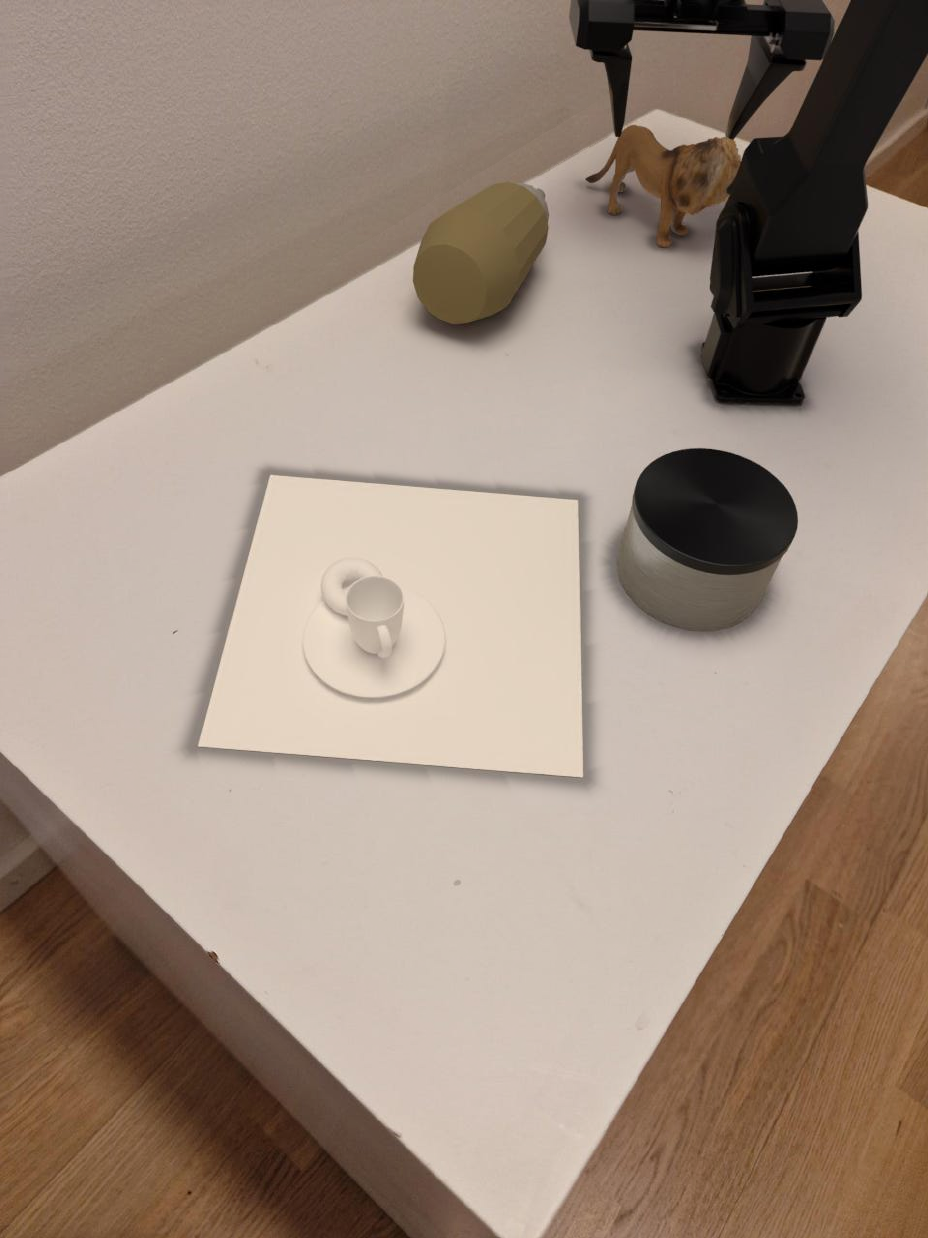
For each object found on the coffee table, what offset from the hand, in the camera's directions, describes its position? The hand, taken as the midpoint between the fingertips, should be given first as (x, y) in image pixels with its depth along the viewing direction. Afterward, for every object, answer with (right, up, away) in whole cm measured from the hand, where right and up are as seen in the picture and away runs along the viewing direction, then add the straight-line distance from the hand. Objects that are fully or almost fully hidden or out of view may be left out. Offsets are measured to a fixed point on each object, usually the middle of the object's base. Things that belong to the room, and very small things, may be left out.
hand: (672, 136), depth 75 cm
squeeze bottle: (-18, -15, -9) cm, 26 cm away
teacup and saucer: (-20, -39, -21) cm, 49 cm away
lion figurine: (0, -4, +6) cm, 8 cm away
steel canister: (-3, -36, -18) cm, 41 cm away
